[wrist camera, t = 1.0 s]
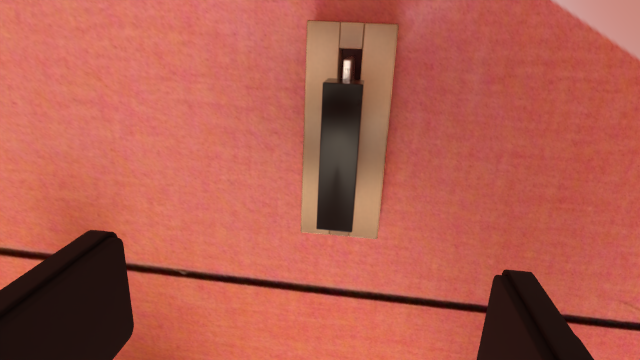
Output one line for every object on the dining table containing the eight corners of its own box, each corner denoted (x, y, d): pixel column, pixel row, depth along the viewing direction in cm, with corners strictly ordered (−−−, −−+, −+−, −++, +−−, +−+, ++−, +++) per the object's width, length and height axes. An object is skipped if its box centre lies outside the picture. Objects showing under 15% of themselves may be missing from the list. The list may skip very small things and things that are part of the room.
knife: (337, 54, 28) (323, 60, 20) (367, 56, 27) (365, 63, 20) (330, 193, 31) (315, 245, 23) (356, 195, 31) (350, 249, 23)
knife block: (313, 22, 27) (307, 20, 24) (396, 25, 27) (398, 24, 24) (306, 215, 32) (300, 232, 29) (377, 221, 31) (377, 239, 28)
